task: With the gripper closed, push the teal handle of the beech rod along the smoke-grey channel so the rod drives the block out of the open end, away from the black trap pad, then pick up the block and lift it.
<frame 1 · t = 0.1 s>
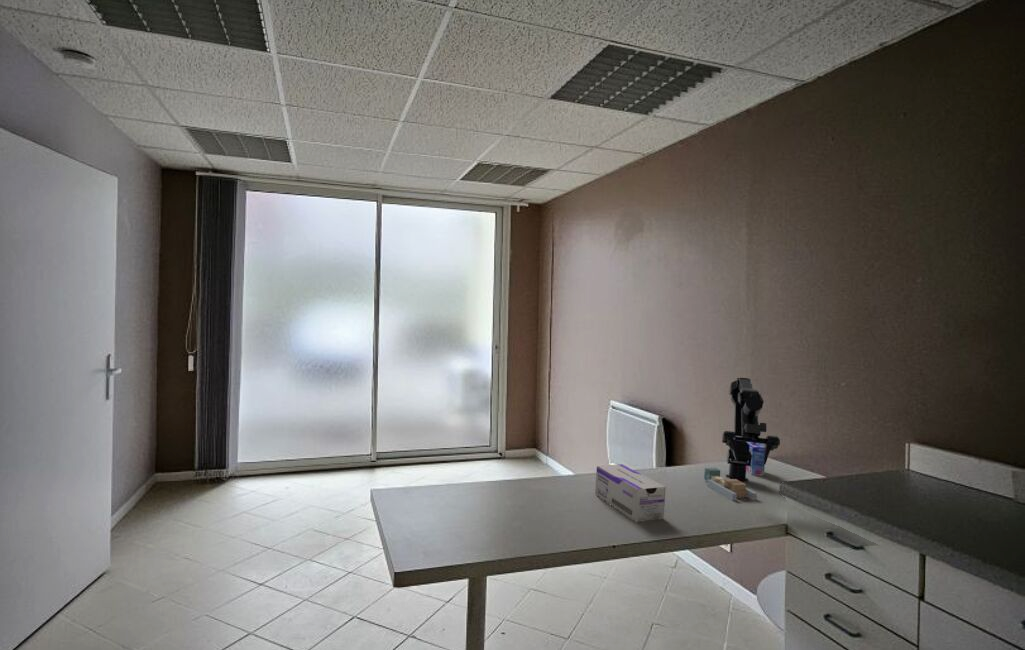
hand: (750, 462, 190), 15 cm above the table, tool tilted 35°, fingers open, 9 cm apart
push rod: (719, 478, 209), point 3 cm above the table, slide at 0.0 cm
block: (734, 495, 200), on the table
ink cartridge box: (753, 472, 231), on the table
channel: (731, 492, 202), on the table
surgical sutures box: (627, 507, 181), on the table
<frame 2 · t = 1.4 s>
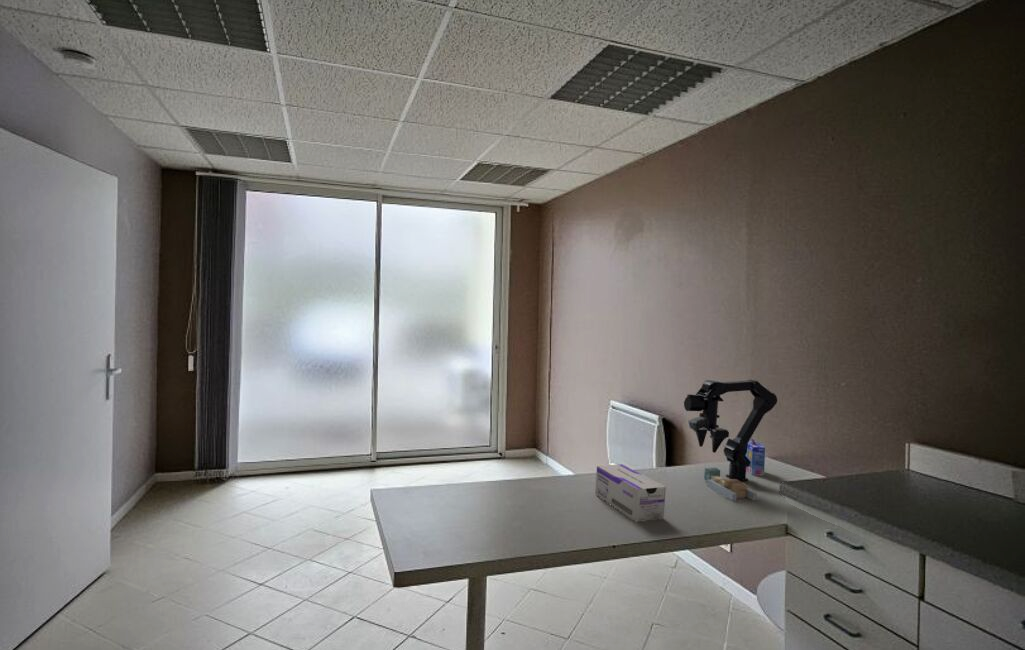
hand: (707, 449, 218), 12 cm above the table, tool pointing down, fingers open, 9 cm apart
nothing on the table moved.
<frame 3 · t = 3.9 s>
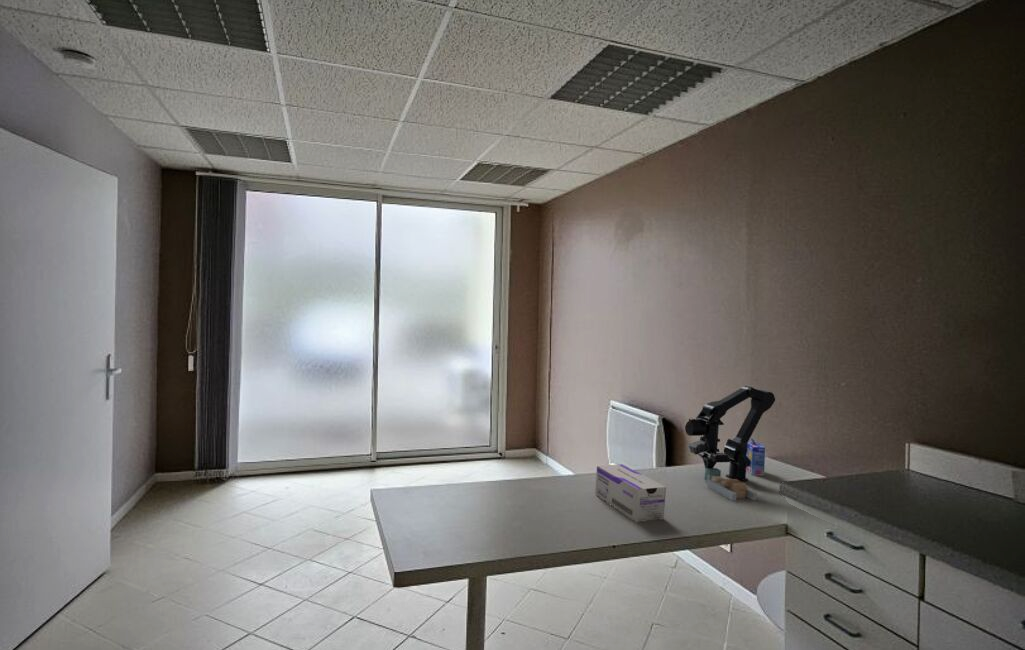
hand: (708, 473, 217), 3 cm above the table, tool pointing down, fingers closed
push rod: (719, 478, 209), point 3 cm above the table, slide at 0.3 cm, touching gripper
everything else where it was.
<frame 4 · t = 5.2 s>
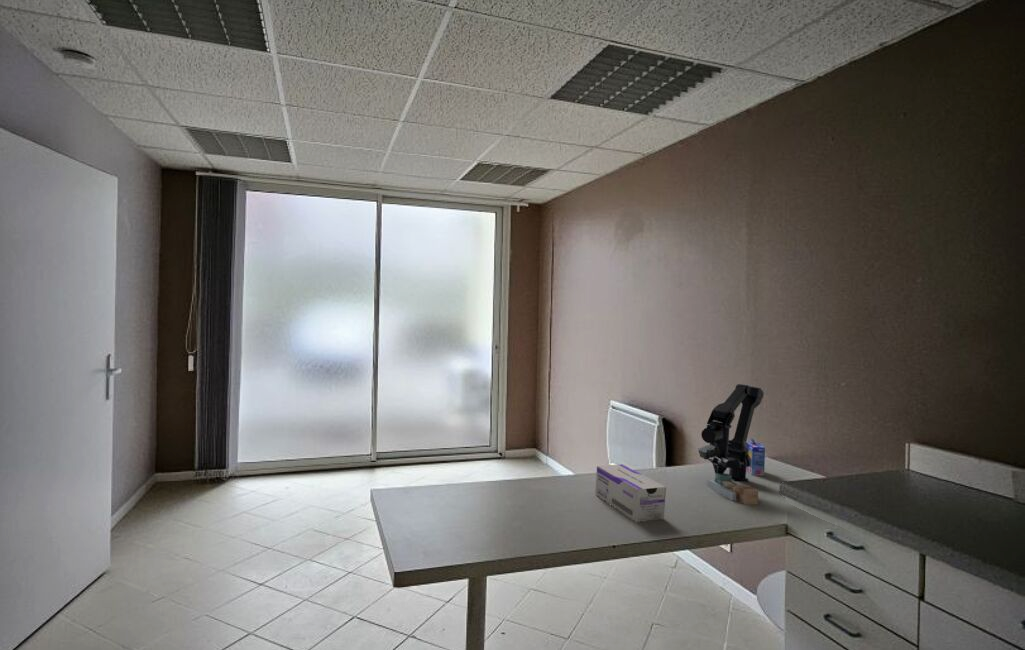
hand: (718, 478, 210), 3 cm above the table, tool pointing down, fingers closed
push rod: (730, 484, 202), point 3 cm above the table, slide at 7.2 cm, touching gripper
block: (745, 501, 193), on the table
everything else where it was.
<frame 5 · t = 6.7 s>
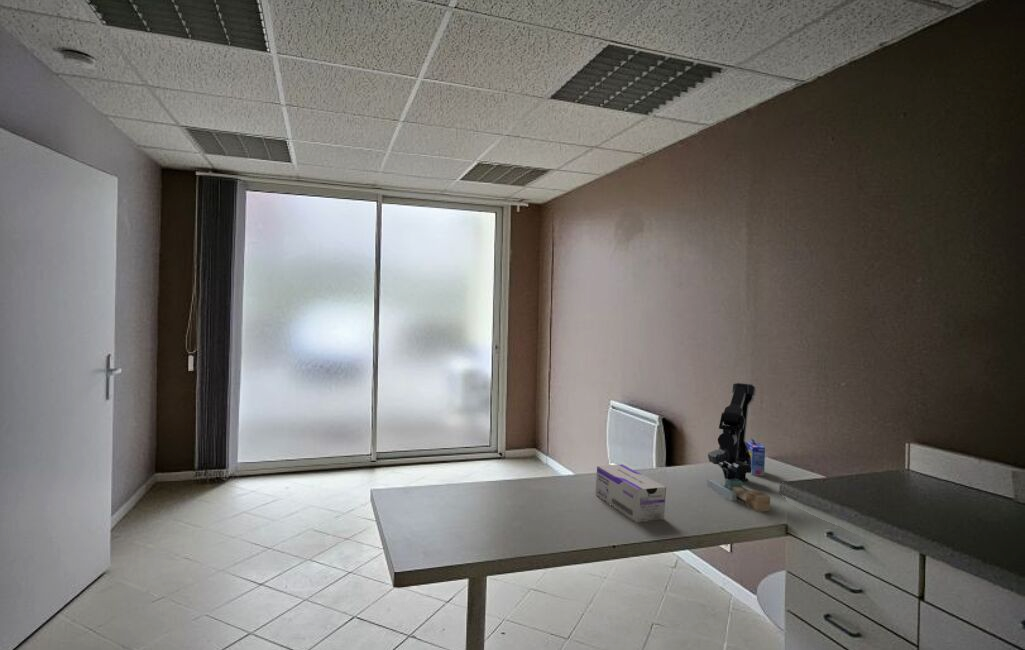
hand: (727, 484, 204), 3 cm above the table, tool pointing down, fingers closed
push rod: (741, 490, 196), point 3 cm above the table, slide at 13.5 cm, touching block, gripper
block: (757, 507, 187), on the table, touching push rod
everything else where it was.
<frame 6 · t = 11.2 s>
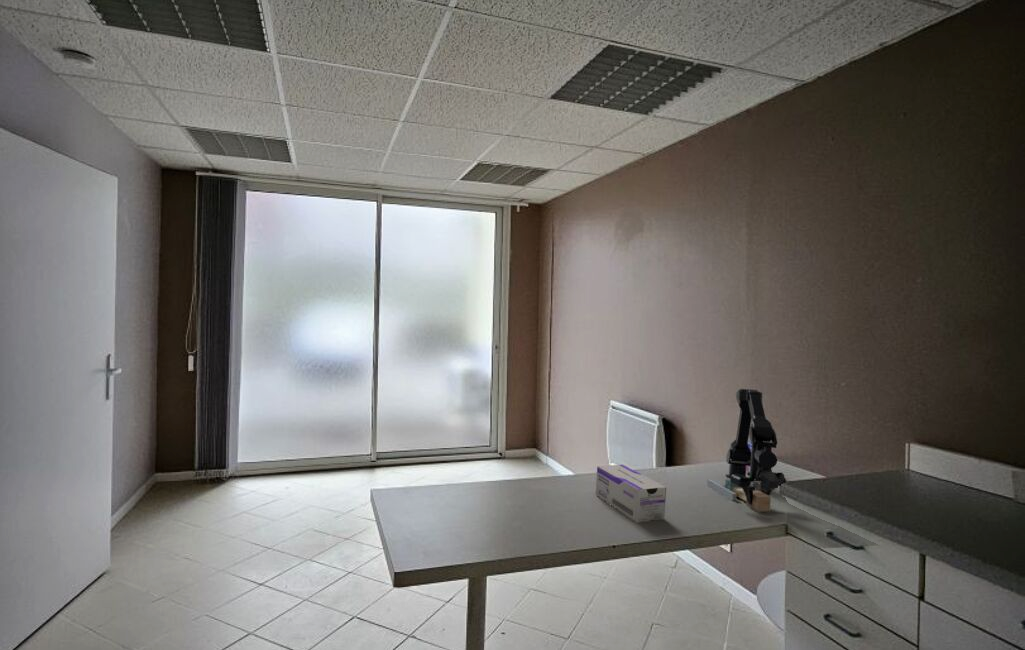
hand: (756, 504, 187), 1 cm above the table, tool pointing down, fingers closed on block, 5 cm apart
push rod: (741, 490, 196), point 3 cm above the table, slide at 13.6 cm
block: (757, 507, 187), on the table, touching gripper
everything else where it was.
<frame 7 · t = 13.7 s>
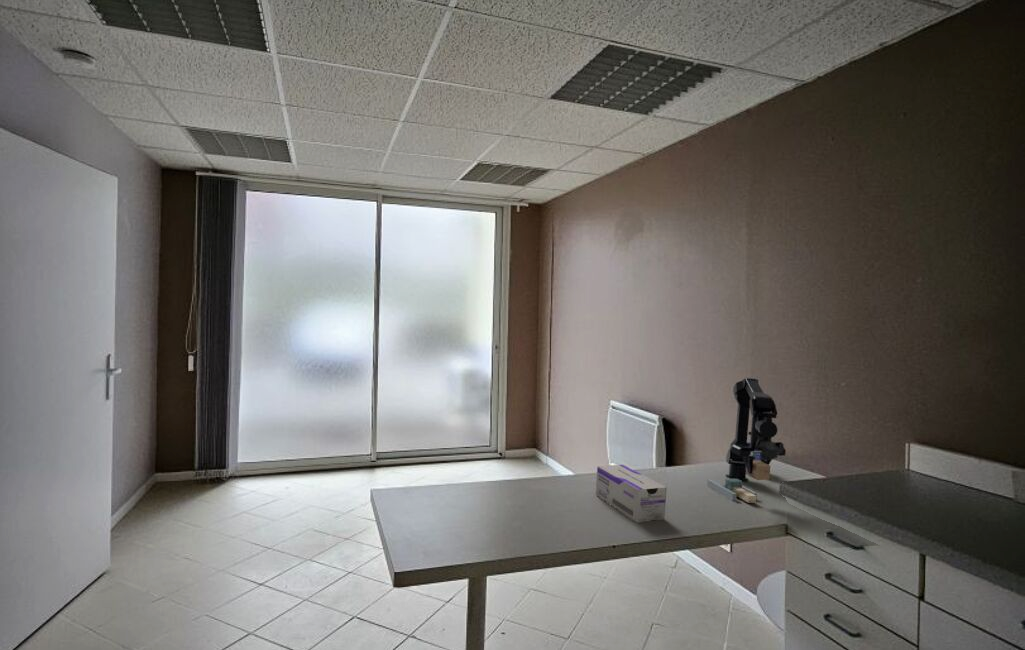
hand: (756, 473, 193), 10 cm above the table, tool pointing down, fingers closed on block, 5 cm apart
block: (757, 476, 192), point 9 cm above the table, touching gripper
everything else where it was.
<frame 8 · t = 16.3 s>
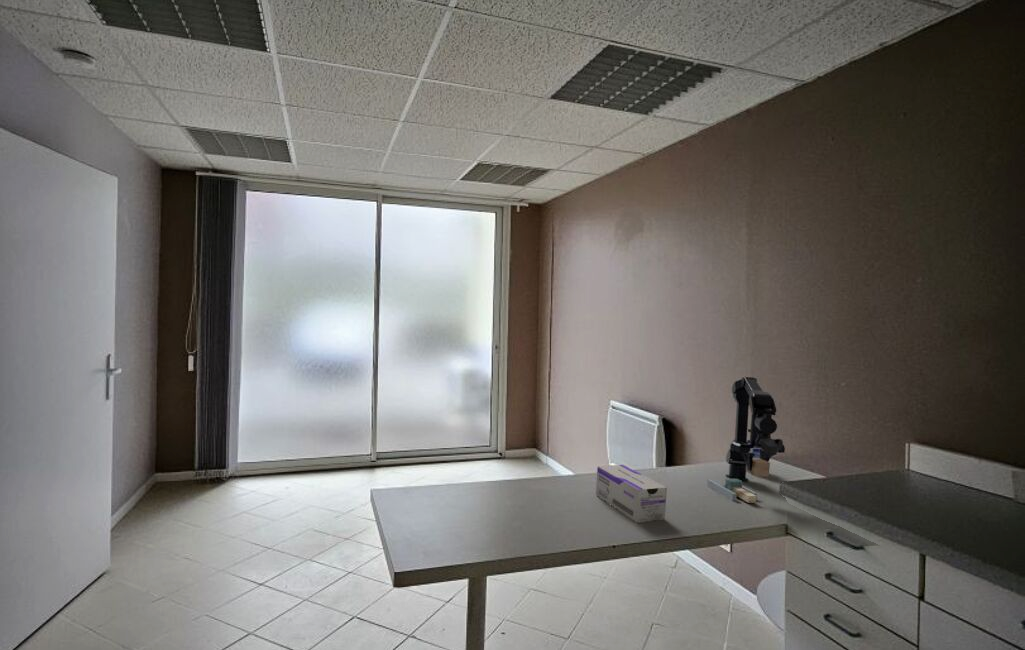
hand: (756, 470, 194), 11 cm above the table, tool pointing down, fingers closed on block, 5 cm apart
block: (757, 473, 194), point 10 cm above the table, touching gripper
everything else where it was.
at the end: the gripper is holding block; block point 9.9 cm above the table; push rod slide at 13.6 cm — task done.
